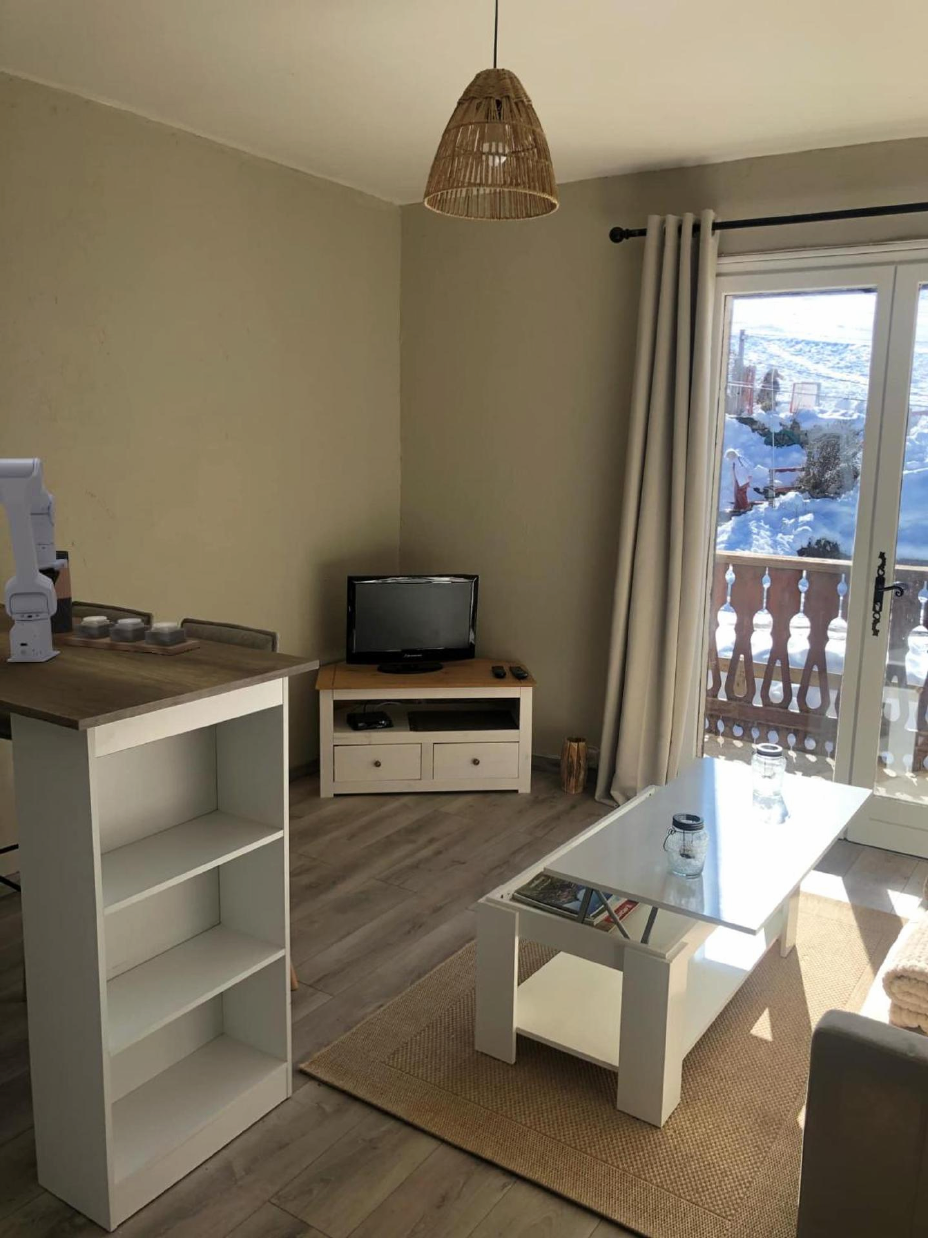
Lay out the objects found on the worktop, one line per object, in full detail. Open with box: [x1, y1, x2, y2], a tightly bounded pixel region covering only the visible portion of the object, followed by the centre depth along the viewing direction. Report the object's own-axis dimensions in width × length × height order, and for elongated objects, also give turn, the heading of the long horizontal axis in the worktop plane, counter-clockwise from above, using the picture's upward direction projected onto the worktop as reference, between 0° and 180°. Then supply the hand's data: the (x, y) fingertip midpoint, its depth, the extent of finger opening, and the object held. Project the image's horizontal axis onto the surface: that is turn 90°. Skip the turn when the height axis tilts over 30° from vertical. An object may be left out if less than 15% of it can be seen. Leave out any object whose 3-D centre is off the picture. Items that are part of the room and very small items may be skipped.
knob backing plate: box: [62, 621, 201, 656], centre depth 236 cm, size 32×10×4 cm, turn 66°
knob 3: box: [150, 621, 181, 633], centre depth 232 cm, size 5×5×4 cm
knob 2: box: [116, 617, 145, 629], centre depth 236 cm, size 5×5×4 cm
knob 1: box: [80, 615, 110, 626], centre depth 240 cm, size 5×5×4 cm
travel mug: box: [41, 550, 73, 634], centre depth 256 cm, size 8×8×20 cm
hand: (46, 601), depth 240 cm, fingers closed
